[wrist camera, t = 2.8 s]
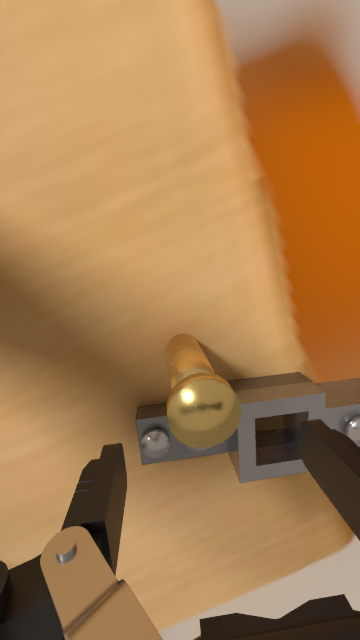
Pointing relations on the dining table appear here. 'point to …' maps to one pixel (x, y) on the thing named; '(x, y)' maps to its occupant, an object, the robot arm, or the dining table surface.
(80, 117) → the dining table surface
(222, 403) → the pin
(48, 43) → the dining table surface
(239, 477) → the grey studded bar
